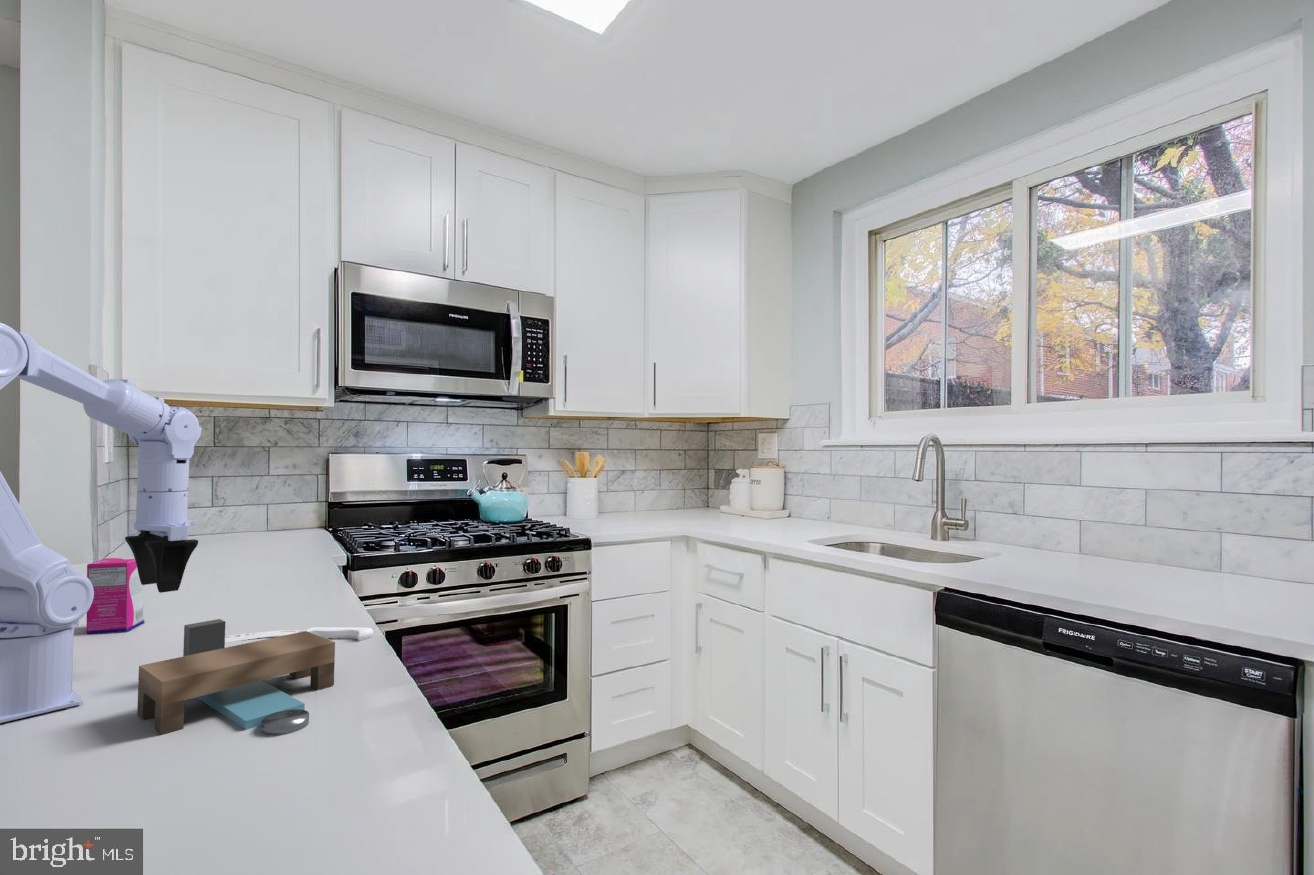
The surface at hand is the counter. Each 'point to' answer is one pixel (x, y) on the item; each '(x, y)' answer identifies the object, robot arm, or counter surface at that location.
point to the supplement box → (115, 596)
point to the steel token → (285, 722)
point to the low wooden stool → (229, 673)
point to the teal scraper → (242, 701)
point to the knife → (320, 631)
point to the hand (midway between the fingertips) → (159, 587)
